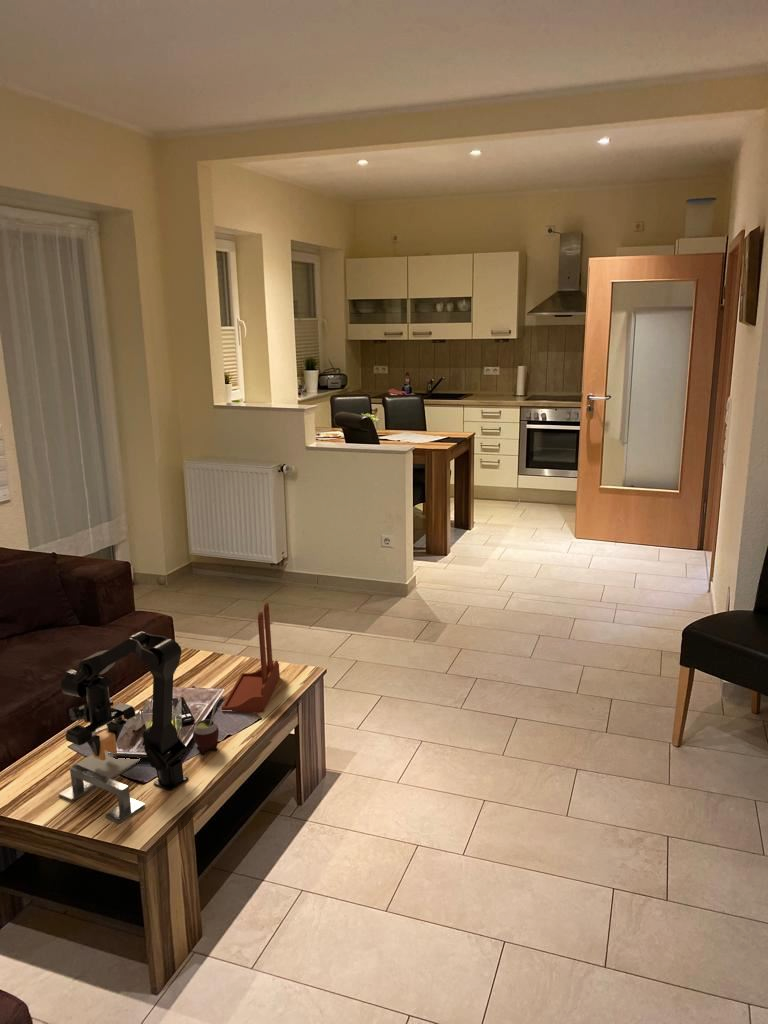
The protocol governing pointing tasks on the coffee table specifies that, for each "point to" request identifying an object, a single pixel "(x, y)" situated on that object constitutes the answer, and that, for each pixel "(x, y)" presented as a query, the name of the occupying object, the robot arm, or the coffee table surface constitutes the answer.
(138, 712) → the grey flat heart piece
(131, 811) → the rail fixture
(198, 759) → the coffee table surface
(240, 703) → the hanging shelf
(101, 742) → the orange link
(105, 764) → the slate mat
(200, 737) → the mate gourd
